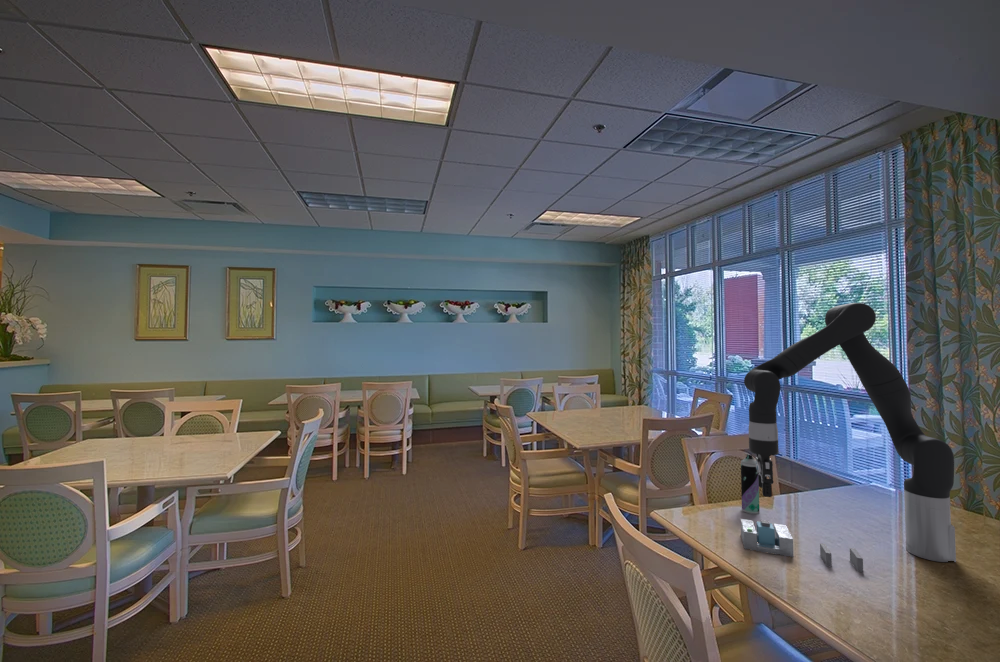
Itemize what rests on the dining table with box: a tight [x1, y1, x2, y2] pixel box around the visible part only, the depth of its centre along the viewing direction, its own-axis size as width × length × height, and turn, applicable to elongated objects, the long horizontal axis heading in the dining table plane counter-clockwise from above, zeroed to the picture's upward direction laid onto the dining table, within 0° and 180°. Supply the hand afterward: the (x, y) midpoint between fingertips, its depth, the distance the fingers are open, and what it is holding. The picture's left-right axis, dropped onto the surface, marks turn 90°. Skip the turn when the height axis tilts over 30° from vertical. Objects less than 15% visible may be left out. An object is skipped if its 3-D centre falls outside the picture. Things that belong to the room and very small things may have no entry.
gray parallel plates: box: [819, 542, 864, 573], centre depth 116 cm, size 8×6×4 cm
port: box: [740, 518, 794, 558], centre depth 127 cm, size 12×10×6 cm
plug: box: [756, 519, 776, 546], centre depth 127 cm, size 4×4×7 cm
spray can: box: [740, 453, 760, 515], centre depth 153 cm, size 6×6×20 cm
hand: (764, 491), depth 127 cm, fingers open, 8 cm apart
